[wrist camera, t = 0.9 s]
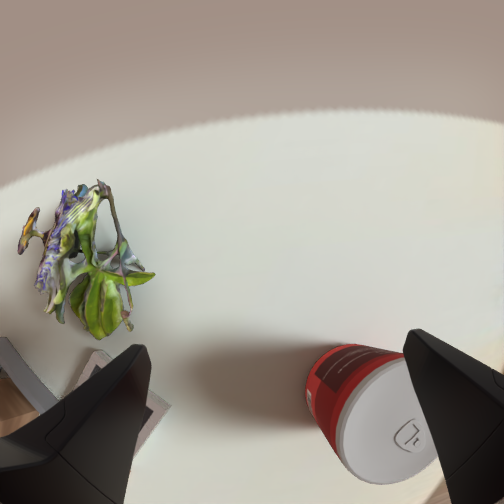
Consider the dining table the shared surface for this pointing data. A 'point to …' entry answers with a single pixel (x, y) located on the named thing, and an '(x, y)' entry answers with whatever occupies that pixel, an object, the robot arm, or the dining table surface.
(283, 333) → the dining table surface
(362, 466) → the canned food
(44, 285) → the passion flower
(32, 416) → the walnut block
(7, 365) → the channel
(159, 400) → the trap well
